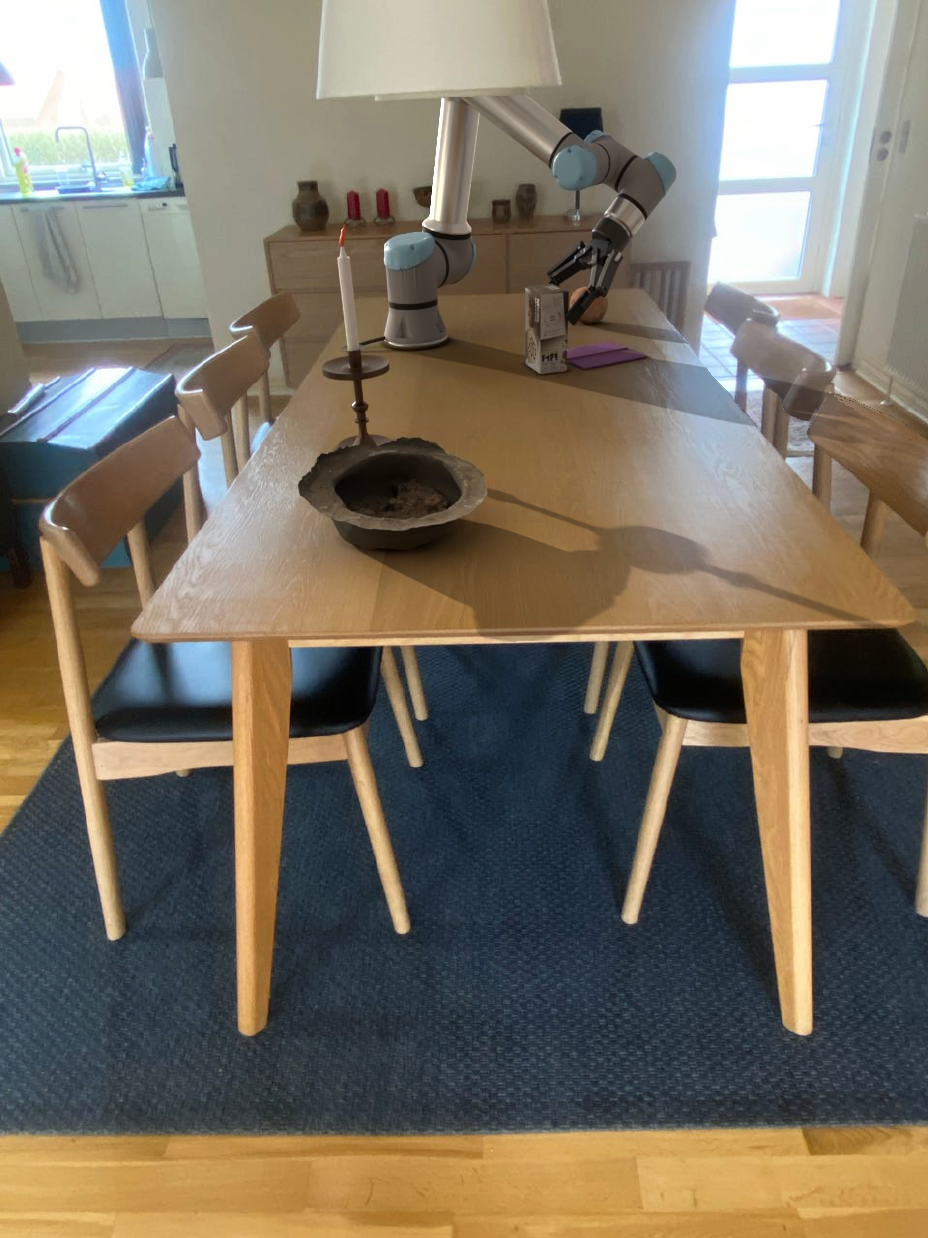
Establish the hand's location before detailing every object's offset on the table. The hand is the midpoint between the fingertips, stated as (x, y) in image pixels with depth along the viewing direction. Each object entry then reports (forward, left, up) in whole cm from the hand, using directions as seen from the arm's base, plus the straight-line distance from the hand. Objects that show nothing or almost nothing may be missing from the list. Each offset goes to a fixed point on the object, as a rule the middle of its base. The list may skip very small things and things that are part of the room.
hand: (551, 314), depth 171 cm
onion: (+28, +28, -11) cm, 41 cm away
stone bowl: (-57, -55, -11) cm, 80 cm away
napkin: (+13, +1, -11) cm, 17 cm away
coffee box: (-1, 0, -11) cm, 11 cm away
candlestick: (-51, -24, -11) cm, 58 cm away
